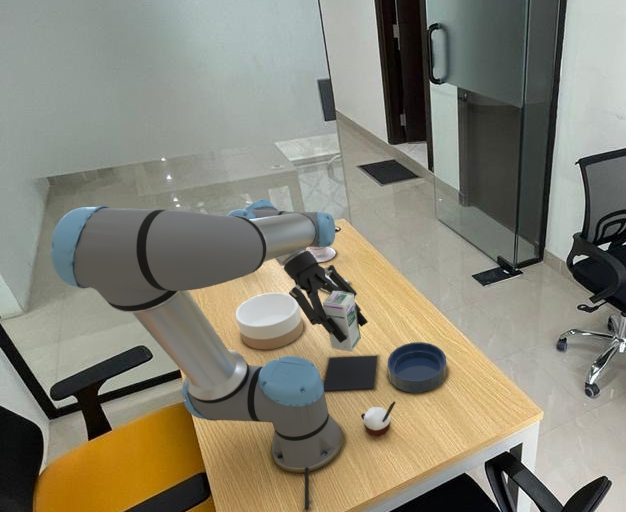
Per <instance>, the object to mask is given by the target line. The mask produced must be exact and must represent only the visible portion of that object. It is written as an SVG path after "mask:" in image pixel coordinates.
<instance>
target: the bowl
mask: <svg viewBox="0 0 626 512" xmlns="http://www.w3.org/2000/svg"><path fill="white" fill-rule="evenodd" d="M234 317H235V319H236V323H237V326H238V329H239V332H240V335H241V339H242V341H243V342H244V344H246V345H247V346H248V347H250V348H252V349H256V350H273V349H274V350H275V349H279V348H282V347H285V346H287V345H289V344H291V343H292V342H294V341H296V340H297V339H298V338H299V337H300V336H301V335H302V333H303V330H304V322H303V318H302V312H301V307H300V306H299V304H298V303H297V301H296V300H295V299H294V298H293V297H292V296H291V295H289V293H284V292H265V293H261V294H258V295H255V296H252V297H250V298H248V299H246V300H245V301H244V302H242V303H241V304H239V306H238V307H237V309H236V311H235V316H234Z"/></svg>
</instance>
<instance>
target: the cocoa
mask: <svg viewBox="0 0 626 512" xmlns="http://www.w3.org/2000/svg"><path fill="white" fill-rule="evenodd" d="M395 405H396V401H392V403H390V405H389V407H388V409H387V410H386V409H385V408H384V407H383V406H373V407H370V408H369V409H367V411H366V412H365V413H361V415H360V417H361V419H362V420H363V426H364V429H365V432H366V433H367V434H368V435H369V436H371V437H375V438H377V437H382V436H384V435H386V434H387V433H388V431H389V429H390V426H391V421H392V415H390V414H391V412H392V411H393V408H394V407H395Z"/></svg>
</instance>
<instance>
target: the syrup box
mask: <svg viewBox="0 0 626 512" xmlns="http://www.w3.org/2000/svg"><path fill="white" fill-rule="evenodd" d="M355 302H356V297H355V298H354V294H353V293H348V292H343V291H333V292H332V293H331V294H330V293H329V295H328V296H327V298H326V299H325V300H324V301H323V303H322V306H323V309H324V311H325V314H326V317H327V319H328V318H330V317H331V318H332V320H333V321H334V322H335V323H336V325H337V326H338V327H339V328H340V330H341V331H342V332H343V333H344V335H345V336H346V337H347V339H346V340H344V341H343V342H341V343H340V342H339V341H338V340H337V339H336V337H335V336H334V335H333V334H332V333H328V336H329V340H330V341H329V342H330V346H331V348H332V349H334V350H338V351H339V350H340V351H346V352H354V350H355V348H356V347H357V345H358V344H359V342H360V340H361V338H362V337H361V336H362V335H361V330H360V325H359V323H358V317H357V310H356V304H357V303H356V304H355Z"/></svg>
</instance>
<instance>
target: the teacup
mask: <svg viewBox="0 0 626 512" xmlns="http://www.w3.org/2000/svg"><path fill="white" fill-rule="evenodd" d="M306 251H310V252H311V254H312V255H313V256H314V257H315V259H316V260H317V262H318V264H320V263H325V262H328V261H331V260H332V259H334V258H335V256H336V255H337V254H336V253H337V252H336V250H335V249H334V248H332V247H331V246H329V247H320V248H319V247H309V248H308V249H306Z"/></svg>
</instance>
